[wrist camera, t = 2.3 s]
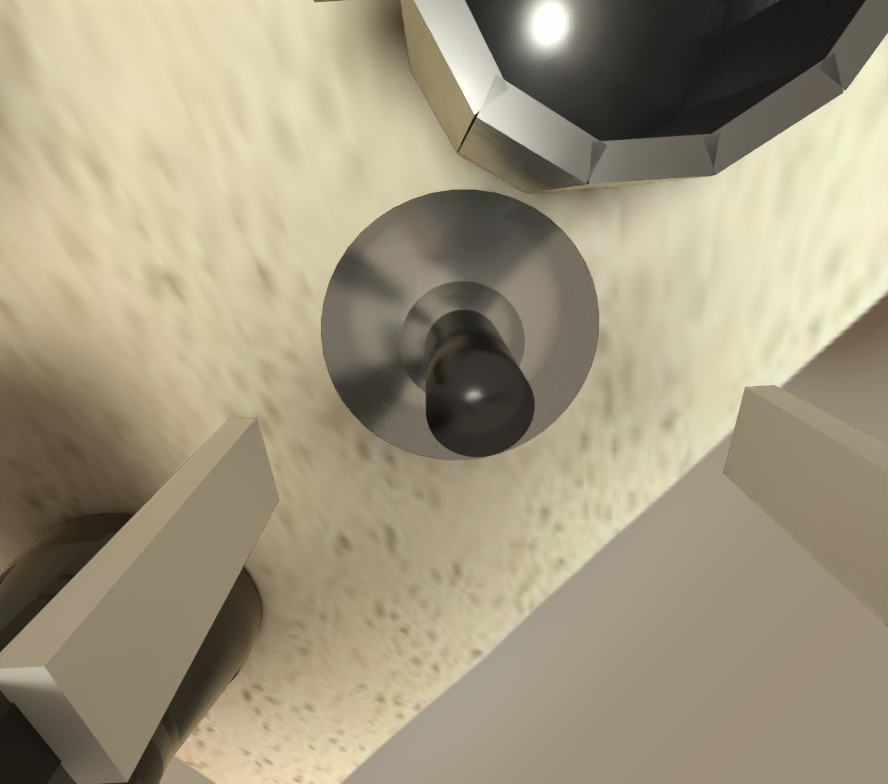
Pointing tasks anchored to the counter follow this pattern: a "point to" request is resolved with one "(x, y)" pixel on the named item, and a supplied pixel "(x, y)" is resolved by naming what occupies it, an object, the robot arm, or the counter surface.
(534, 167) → the pot
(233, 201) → the counter surface
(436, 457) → the lid
